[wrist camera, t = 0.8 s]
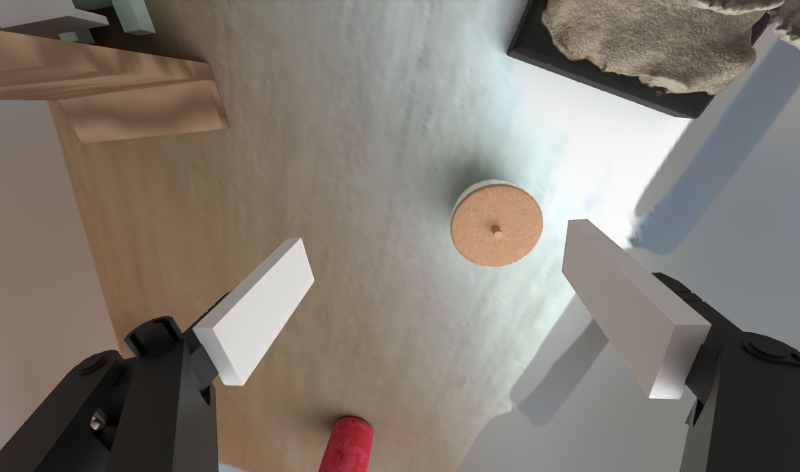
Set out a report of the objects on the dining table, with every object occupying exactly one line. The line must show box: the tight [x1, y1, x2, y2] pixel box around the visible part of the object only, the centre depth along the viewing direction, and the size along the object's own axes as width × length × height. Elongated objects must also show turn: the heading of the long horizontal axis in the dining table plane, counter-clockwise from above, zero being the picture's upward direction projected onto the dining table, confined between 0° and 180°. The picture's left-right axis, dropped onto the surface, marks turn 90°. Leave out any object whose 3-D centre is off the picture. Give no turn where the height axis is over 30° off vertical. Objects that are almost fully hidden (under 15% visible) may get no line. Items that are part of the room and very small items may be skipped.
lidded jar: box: [451, 179, 543, 267], centre depth 37 cm, size 11×11×9 cm
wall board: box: [0, 27, 230, 144], centre depth 28 cm, size 11×24×28 cm, turn 96°
